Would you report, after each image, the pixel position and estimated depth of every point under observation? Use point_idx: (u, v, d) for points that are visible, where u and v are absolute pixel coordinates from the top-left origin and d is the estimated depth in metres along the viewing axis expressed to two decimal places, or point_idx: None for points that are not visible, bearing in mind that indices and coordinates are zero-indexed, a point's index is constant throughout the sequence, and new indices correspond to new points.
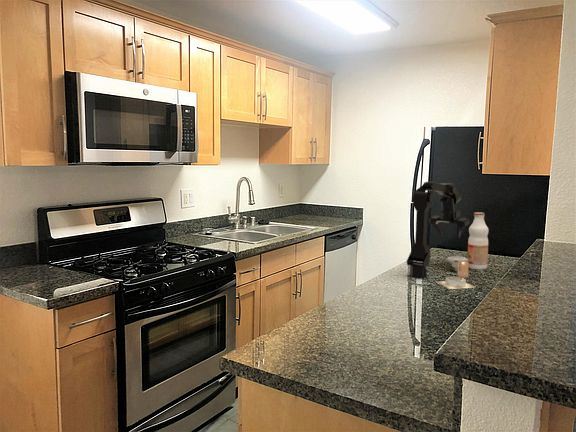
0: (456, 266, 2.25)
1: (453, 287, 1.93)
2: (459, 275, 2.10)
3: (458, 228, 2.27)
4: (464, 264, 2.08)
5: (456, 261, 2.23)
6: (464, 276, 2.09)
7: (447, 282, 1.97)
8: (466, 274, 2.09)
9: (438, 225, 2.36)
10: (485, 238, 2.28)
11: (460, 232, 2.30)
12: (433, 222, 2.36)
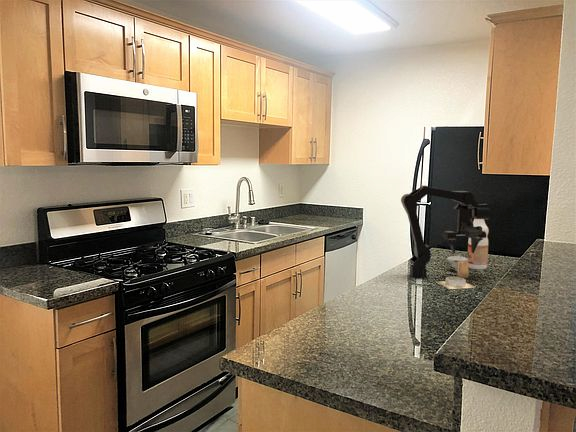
0: (456, 266, 2.25)
1: (453, 287, 1.93)
2: (459, 275, 2.10)
3: None
4: (464, 264, 2.08)
5: (456, 261, 2.23)
6: (464, 276, 2.09)
7: (447, 282, 1.97)
8: (466, 274, 2.09)
9: (472, 238, 2.12)
10: (485, 238, 2.28)
11: (451, 246, 2.09)
12: None
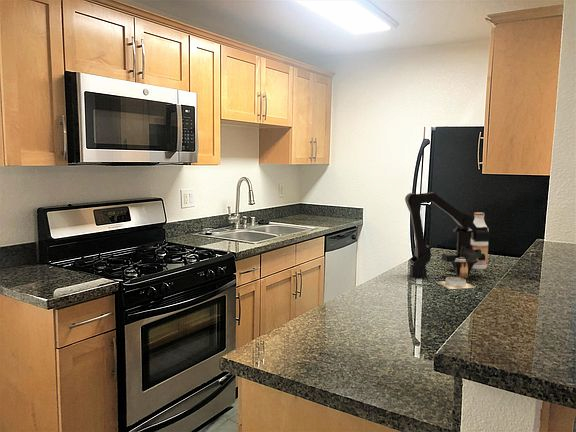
0: None
1: (453, 287, 1.93)
2: (459, 275, 2.10)
3: None
4: (464, 264, 2.08)
5: None
6: (464, 276, 2.09)
7: (447, 282, 1.97)
8: (466, 274, 2.09)
9: (467, 261, 2.12)
10: None
11: (455, 269, 2.10)
12: None
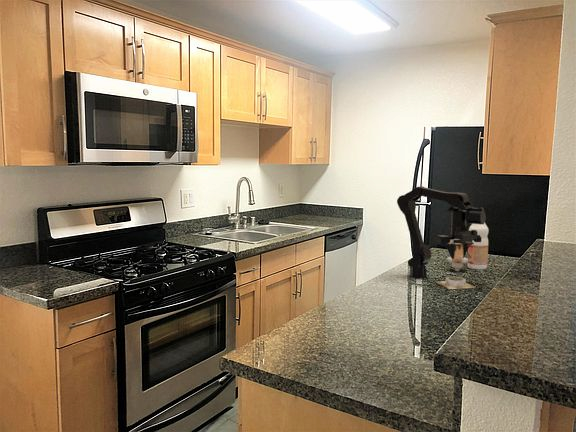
0: (456, 266, 2.25)
1: (453, 287, 1.93)
2: (454, 258, 1.97)
3: None
4: (459, 246, 1.95)
5: None
6: (459, 259, 1.96)
7: (447, 282, 1.97)
8: (461, 257, 1.96)
9: (462, 243, 2.00)
10: (485, 238, 2.28)
11: (450, 251, 1.97)
12: None
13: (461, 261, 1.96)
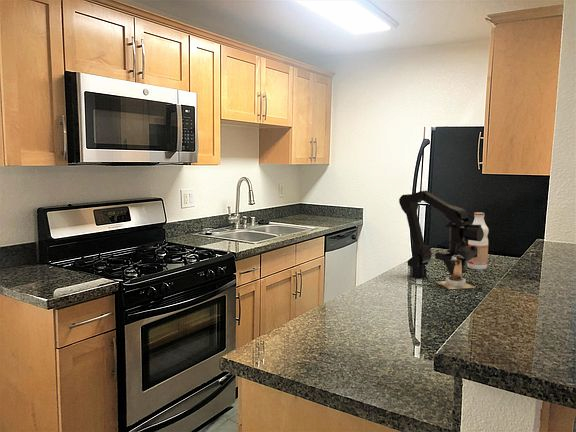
0: None
1: (453, 287, 1.93)
2: (453, 274, 1.96)
3: None
4: (458, 262, 1.95)
5: None
6: (458, 275, 1.95)
7: (447, 282, 1.97)
8: (460, 273, 1.96)
9: None
10: (485, 238, 2.28)
11: (449, 268, 1.96)
12: None
13: (460, 277, 1.96)
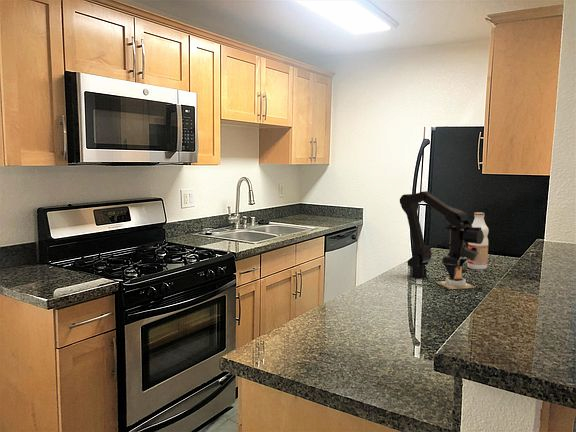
0: None
1: (453, 287, 1.93)
2: None
3: None
4: (460, 269, 1.95)
5: None
6: None
7: (447, 282, 1.97)
8: None
9: None
10: (485, 238, 2.28)
11: (451, 272, 1.93)
12: None
13: None
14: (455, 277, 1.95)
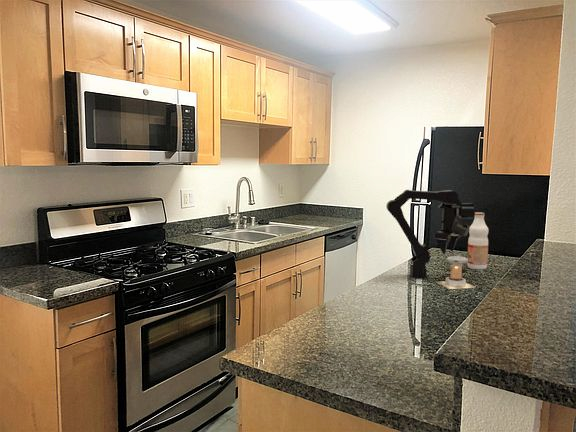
0: None
1: (453, 287, 1.93)
2: None
3: None
4: (460, 269, 1.95)
5: (456, 261, 2.23)
6: None
7: (447, 282, 1.97)
8: None
9: None
10: (485, 238, 2.28)
11: (443, 247, 2.04)
12: None
13: None
14: (455, 277, 1.95)
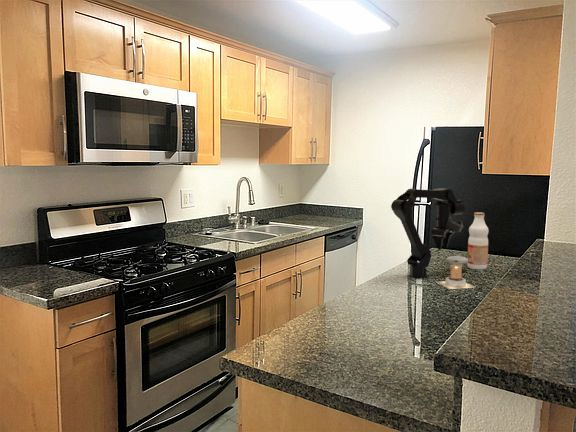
0: None
1: (453, 287, 1.93)
2: None
3: None
4: (460, 269, 1.95)
5: (456, 261, 2.23)
6: None
7: (447, 282, 1.97)
8: None
9: None
10: (485, 238, 2.28)
11: (438, 243, 2.12)
12: None
13: None
14: (455, 277, 1.95)
